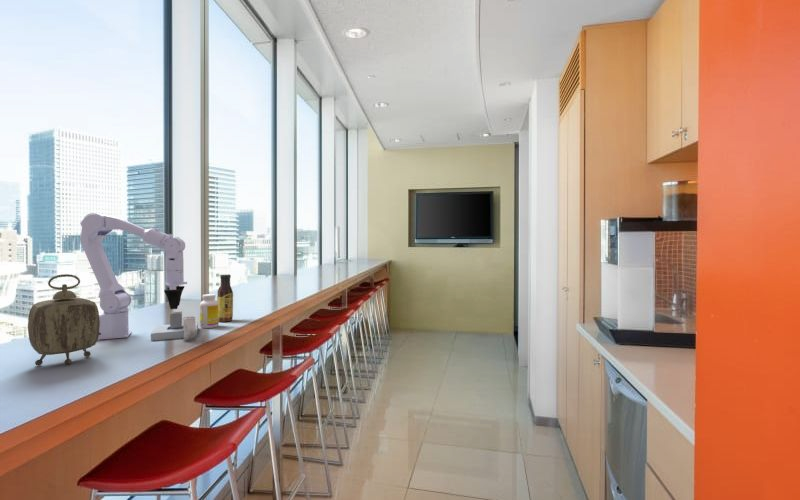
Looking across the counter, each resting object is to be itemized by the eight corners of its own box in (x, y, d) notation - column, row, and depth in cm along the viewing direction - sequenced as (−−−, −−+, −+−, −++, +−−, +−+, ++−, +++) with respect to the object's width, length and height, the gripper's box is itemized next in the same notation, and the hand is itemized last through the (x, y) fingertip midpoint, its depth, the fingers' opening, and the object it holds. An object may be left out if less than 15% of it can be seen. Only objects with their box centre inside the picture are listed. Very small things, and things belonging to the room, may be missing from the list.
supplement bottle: (221, 325, 162) (221, 293, 161) (212, 328, 155) (212, 296, 155) (206, 324, 162) (206, 293, 162) (196, 328, 156) (196, 295, 155)
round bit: (183, 342, 135) (183, 318, 135) (183, 339, 138) (183, 317, 138) (195, 341, 136) (194, 318, 136) (195, 338, 140) (195, 316, 139)
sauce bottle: (226, 322, 167) (226, 275, 166) (213, 322, 168) (213, 275, 167) (236, 319, 173) (236, 274, 172) (223, 319, 174) (223, 273, 174)
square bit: (170, 335, 144) (170, 313, 143) (171, 333, 147) (171, 312, 147) (181, 334, 145) (181, 313, 145) (182, 332, 148) (182, 311, 148)
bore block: (150, 340, 137) (150, 333, 137) (156, 332, 149) (156, 325, 149) (196, 336, 143) (196, 329, 143) (198, 328, 155) (197, 322, 155)
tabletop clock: (93, 354, 120) (91, 272, 120) (102, 360, 115) (100, 273, 114) (28, 366, 109) (26, 275, 108) (34, 373, 103) (32, 277, 103)
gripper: (185, 271, 141) (185, 309, 141) (188, 268, 154) (188, 303, 155) (162, 272, 138) (162, 311, 138) (167, 269, 151) (167, 304, 152)
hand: (174, 307), depth 146 cm, fingers open, 7 cm apart
